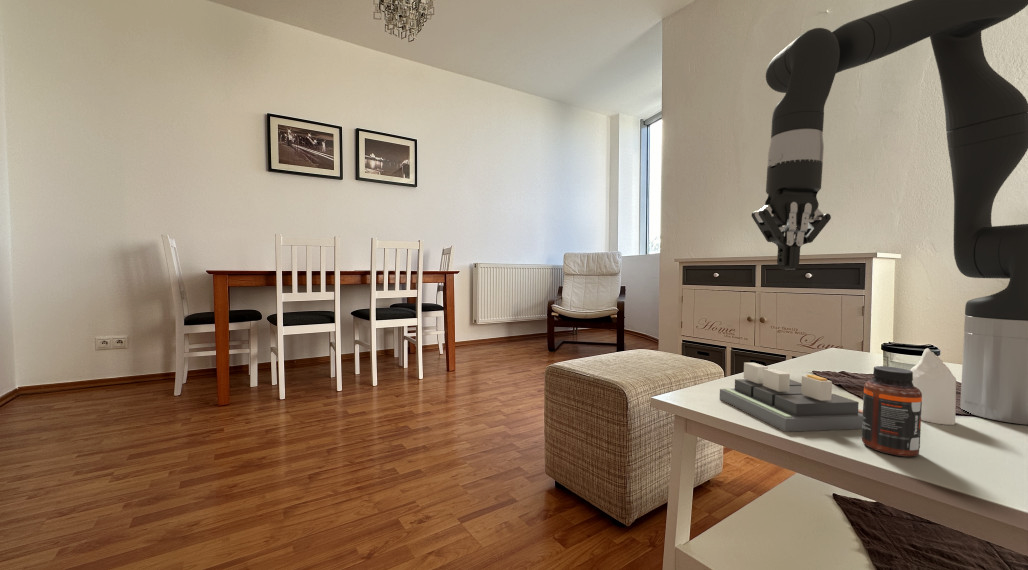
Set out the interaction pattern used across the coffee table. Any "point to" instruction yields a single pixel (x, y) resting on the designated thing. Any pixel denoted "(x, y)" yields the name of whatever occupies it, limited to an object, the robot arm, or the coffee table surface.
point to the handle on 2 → (776, 380)
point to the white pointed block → (935, 389)
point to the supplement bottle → (892, 412)
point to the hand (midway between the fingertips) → (787, 269)
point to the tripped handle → (816, 387)
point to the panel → (795, 420)
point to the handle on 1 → (754, 372)
